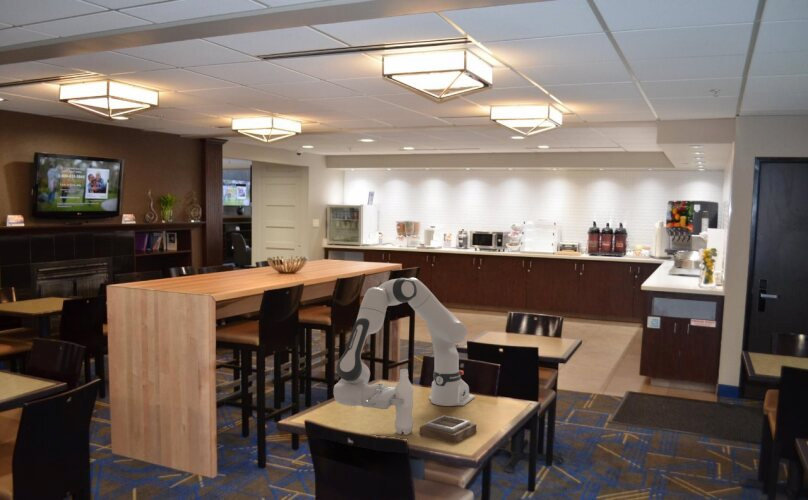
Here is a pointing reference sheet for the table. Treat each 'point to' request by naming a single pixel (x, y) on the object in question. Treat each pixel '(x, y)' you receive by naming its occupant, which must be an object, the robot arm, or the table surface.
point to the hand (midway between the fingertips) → (406, 399)
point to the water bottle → (404, 404)
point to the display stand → (448, 428)
